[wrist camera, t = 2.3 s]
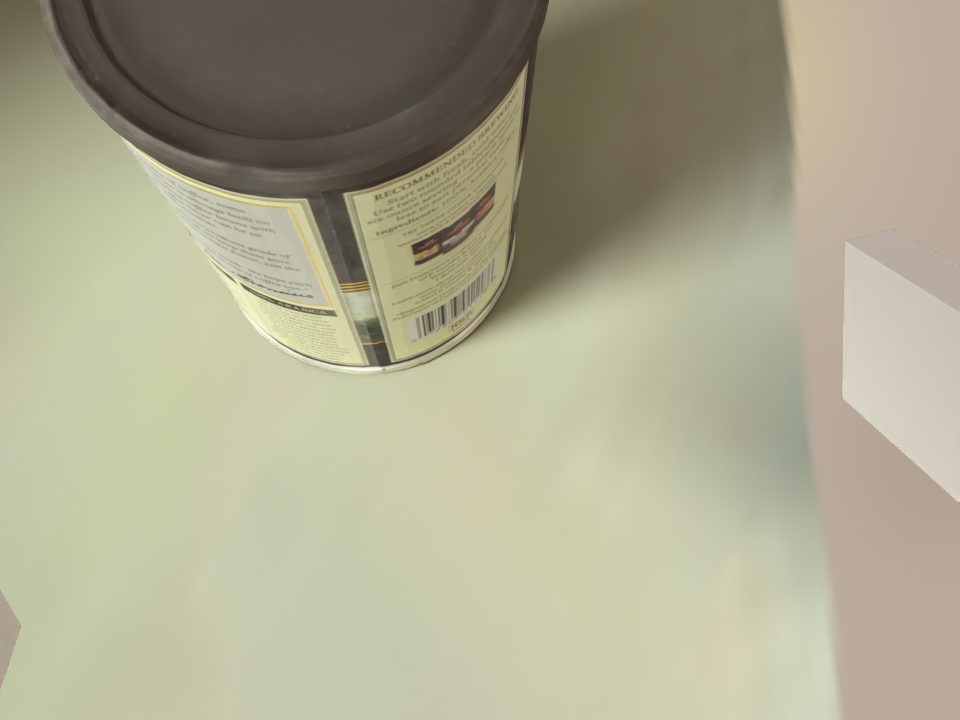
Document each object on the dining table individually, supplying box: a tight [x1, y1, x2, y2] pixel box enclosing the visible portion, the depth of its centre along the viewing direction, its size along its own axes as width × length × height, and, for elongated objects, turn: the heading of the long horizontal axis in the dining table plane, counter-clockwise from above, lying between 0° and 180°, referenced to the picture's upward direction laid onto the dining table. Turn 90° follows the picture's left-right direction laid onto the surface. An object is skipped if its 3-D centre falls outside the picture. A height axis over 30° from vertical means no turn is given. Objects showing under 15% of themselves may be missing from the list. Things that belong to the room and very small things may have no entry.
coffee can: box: [39, 0, 549, 374], centre depth 25 cm, size 10×10×14 cm
